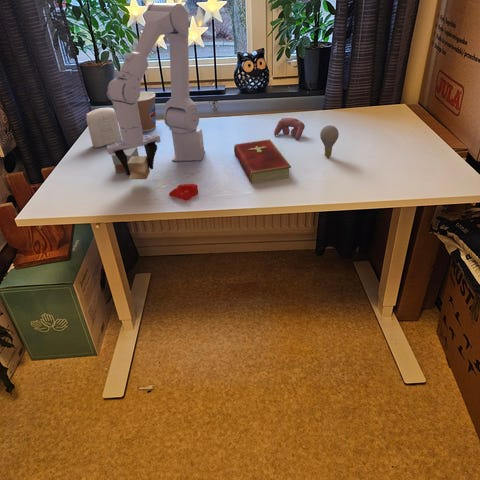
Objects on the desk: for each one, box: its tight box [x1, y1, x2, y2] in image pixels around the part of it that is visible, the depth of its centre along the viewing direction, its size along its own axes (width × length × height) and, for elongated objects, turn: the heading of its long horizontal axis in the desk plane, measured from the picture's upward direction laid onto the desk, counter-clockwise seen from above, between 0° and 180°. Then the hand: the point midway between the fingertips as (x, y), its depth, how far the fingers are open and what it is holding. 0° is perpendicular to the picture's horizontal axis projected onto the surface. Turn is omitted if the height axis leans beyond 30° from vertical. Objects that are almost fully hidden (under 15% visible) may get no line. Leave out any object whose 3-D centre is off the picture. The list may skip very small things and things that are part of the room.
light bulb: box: [319, 124, 340, 158], centre depth 134 cm, size 5×6×10 cm
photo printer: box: [85, 107, 122, 149], centre depth 151 cm, size 10×4×12 cm, turn 123°
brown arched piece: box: [273, 117, 306, 141], centre depth 151 cm, size 10×5×7 cm, turn 58°
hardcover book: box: [233, 138, 292, 185], centre depth 134 cm, size 12×21×4 cm, turn 13°
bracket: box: [168, 183, 199, 202], centre depth 121 cm, size 6×5×3 cm
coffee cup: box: [137, 91, 157, 132], centre depth 162 cm, size 10×10×12 cm
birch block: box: [128, 155, 151, 180], centre depth 125 cm, size 4×4×5 cm
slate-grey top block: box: [111, 147, 140, 166], centre depth 135 cm, size 6×6×3 cm
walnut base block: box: [114, 165, 126, 174], centre depth 137 cm, size 6×6×3 cm
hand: (139, 171), depth 126 cm, fingers closed on birch block, 6 cm apart
